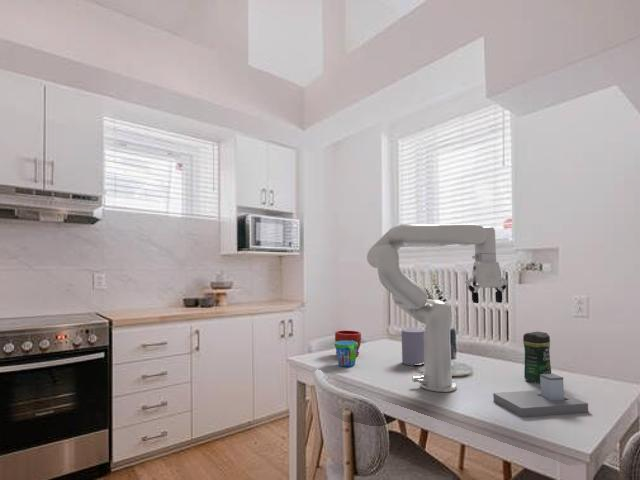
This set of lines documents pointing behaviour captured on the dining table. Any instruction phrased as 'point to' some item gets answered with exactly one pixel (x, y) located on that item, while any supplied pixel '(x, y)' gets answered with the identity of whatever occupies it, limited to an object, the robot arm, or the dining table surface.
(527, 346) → the coffee jar
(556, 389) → the block
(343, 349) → the snack cup
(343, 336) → the plant pot
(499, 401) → the grey board with hole
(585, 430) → the dining table surface
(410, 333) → the container
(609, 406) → the dining table surface
